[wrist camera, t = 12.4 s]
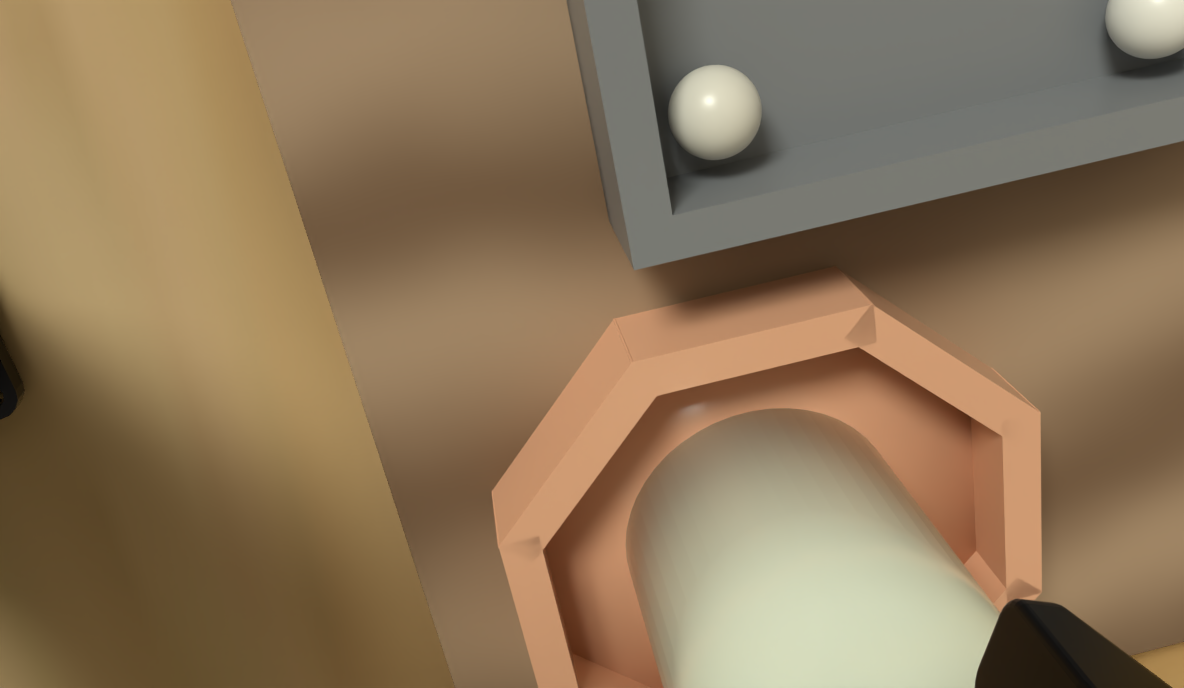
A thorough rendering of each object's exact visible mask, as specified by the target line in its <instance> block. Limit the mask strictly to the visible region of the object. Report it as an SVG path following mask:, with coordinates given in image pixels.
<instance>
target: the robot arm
mask: <svg viewBox="0 0 1184 688" xmlns="http://www.w3.org/2000/svg"><path fill="white" fill-rule="evenodd" d="M0 391H1V392H2V393H3V397H4V398H3V399H0V419H2V418H5V417H7V416H9V415H10V414H11V413H12V412H13V411H14V410H15V409H16V407H17V406H18V405H19V403H20V402H21V400H22V399H23V395H24V391H25V390H24V386H23V382H22V380H21V378H20V376H19V373H18V371H17V369H16V367H15V365H14V363H13V361H12V359H11V357H10V355H9V353H8V351H7V349H6V346H5V344H4V342H3V340H2V338H1V336H0ZM975 688H1172V687H1171V686H1170V685H1168V684H1167V683H1165V682H1164V681H1163V680H1161V679H1160V678H1159V677H1157V676H1156V675H1155V674H1153V673H1152V672H1151V671H1149V670H1148V669H1147V668H1145V667H1144V666H1143V665H1141V664H1140V663H1139V662H1137V661H1136V660H1135V659H1133V658H1132V657H1131V656H1129V655H1128V654H1127V653H1125V652H1124V651H1123V650H1121V649H1120V648H1119V647H1117V646H1116V645H1115V644H1113V643H1112V642H1111V641H1109V640H1108V639H1107V638H1105V637H1104V636H1103V635H1101V634H1100V633H1099V632H1097V631H1096V630H1095V629H1093V628H1092V627H1091V626H1089V625H1088V624H1087V623H1085V622H1084V621H1083V620H1081V619H1080V618H1079V617H1077V616H1076V615H1075V614H1073V613H1072V612H1071V611H1069V610H1068V609H1067V608H1065V607H1064V606H1062V605H1060V604H1057V603H1052V602H1044V601H1036V600H1027V599H1014V600H1011V601H1009V602H1008V603H1007V604H1006V605H1005V606H1004V607H1003V609H1002V611H1001V613H1000V615H999V617H998V620H997V622H996V625H995V627H994V630H993V632H992V635H991V637H990V640H989V642H988V645H987V647H986V650H985V652H984V655H983V657H982V659H981V662H980V664H979V667H978V670H977V673H976V679H975Z"/></svg>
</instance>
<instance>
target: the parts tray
mask: <svg viewBox="0 0 1184 688" xmlns="http://www.w3.org/2000/svg"><path fill="white" fill-rule="evenodd" d="M566 1H567V6H568V11H569V17H570V22H571V27H572V32H573V37H574V42H575V48H576V53H577V58H578V63H579V68H580V73H581V78H582V84H583V89H584V94H585V99H586V104H587V109H588V115H589V120H590V125H591V130H592V135H593V140H594V145H595V151H596V156H597V161H598V166H599V171H600V176H601V182H602V187H603V192H604V197H605V202H606V207H607V213H608V218H609V222H610V224H611V226H612V228H613V230H614V232H615V234H616V236H617V238H618V240H619V242H620V244H621V246H622V248H623V250H624V252H625V254H626V256H627V258H628V260H629V261H630V263H631V265H632V267H633V269H634V270H638V269H642V268H646V267H650V266H655V265H659V264H663V263H667V262H672V261H676V260H680V259H684V258H689V257H693V256H697V255H701V254H706V253H710V252H714V251H718V250H723V249H727V248H731V247H735V246H740V245H744V244H748V243H752V242H757V241H761V240H765V239H769V238H774V237H778V236H782V235H786V234H791V233H795V232H799V231H803V230H808V229H812V228H816V227H820V226H824V225H829V224H833V223H837V222H841V221H846V220H850V219H854V218H858V217H863V216H867V215H871V214H875V213H880V212H884V211H888V210H892V209H897V208H901V207H905V206H909V205H914V204H918V203H922V202H926V201H931V200H935V199H939V198H943V197H948V196H952V195H956V194H960V193H965V192H969V191H973V190H977V189H982V188H986V187H990V186H994V185H998V184H1003V183H1007V182H1011V181H1015V180H1020V179H1024V178H1028V177H1032V176H1037V175H1041V174H1045V173H1049V172H1054V171H1058V170H1062V169H1066V168H1071V167H1075V166H1079V165H1083V164H1088V163H1092V162H1096V161H1100V160H1105V159H1109V158H1113V157H1117V156H1122V155H1126V154H1130V153H1134V152H1139V151H1143V150H1147V149H1151V148H1155V147H1160V146H1164V145H1168V144H1172V143H1177V142H1181V141H1184V0H566Z"/></svg>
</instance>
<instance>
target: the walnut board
mask: <svg viewBox="0 0 1184 688" xmlns="http://www.w3.org/2000/svg"><path fill="white" fill-rule="evenodd" d="M231 3H232V6H233V9H234V12H235V15H236V18H237V21H238V24H239V28H240V31H241V34H242V37H243V40H244V43H245V46H246V49H247V52H248V55H249V58H250V61H251V64H252V67H253V70H254V73H255V77H256V80H257V83H258V86H259V89H260V92H261V95H262V98H263V101H264V104H265V107H266V110H267V113H268V116H269V119H270V122H271V126H272V129H273V132H274V135H275V138H276V141H277V144H278V147H279V150H280V153H281V156H282V159H283V162H284V165H285V168H286V171H287V175H288V178H289V181H290V184H291V187H292V190H293V193H294V196H295V199H296V202H297V205H298V208H299V211H300V214H301V217H302V220H303V224H304V227H305V230H306V233H307V236H308V239H309V242H310V245H311V248H312V251H313V254H314V257H315V260H316V263H317V266H318V269H319V273H320V276H321V279H322V282H323V285H324V288H325V291H326V294H327V297H328V300H329V303H330V306H331V309H332V312H333V315H334V318H335V322H336V325H337V328H338V331H339V334H340V337H341V340H342V343H343V346H344V349H345V352H346V355H347V358H348V361H349V364H350V367H351V371H352V374H353V377H354V380H355V383H356V386H357V389H358V392H359V395H360V398H361V401H362V404H363V407H364V410H365V413H366V416H367V420H368V423H369V426H370V429H371V432H372V435H373V438H374V441H375V444H376V447H377V450H378V453H379V456H380V459H381V462H382V465H383V469H384V472H385V475H386V478H387V481H388V484H389V487H390V490H391V493H392V496H393V499H394V502H395V505H396V508H397V511H398V514H399V518H400V521H401V524H402V527H403V530H404V533H405V536H406V539H407V542H408V545H409V548H410V551H411V554H412V557H413V560H414V563H415V567H416V570H417V573H418V576H419V579H420V582H421V585H422V588H423V591H424V594H425V597H426V600H427V603H428V606H429V609H430V612H431V616H432V619H433V622H434V625H435V628H436V631H437V634H438V637H439V640H440V643H441V646H442V649H443V652H444V655H445V658H446V661H447V665H448V668H449V671H450V674H451V677H452V680H453V683H454V686H455V688H538V685H537V681H536V678H535V674H534V671H533V667H532V664H531V660H530V657H529V653H528V649H527V646H526V642H525V639H524V635H523V632H522V628H521V625H520V621H519V617H518V614H517V610H516V607H515V603H514V600H513V596H512V593H511V589H510V586H509V582H508V578H507V575H506V571H505V568H504V564H503V561H502V557H501V554H500V550H499V548H498V543H497V535H496V526H495V518H494V509H493V501H492V490H493V489H494V488H495V486H496V485H497V483H498V482H499V481H500V479H501V478H502V476H503V475H504V473H505V472H506V471H507V469H508V468H509V466H510V465H511V464H512V462H513V461H514V459H515V458H516V456H517V455H518V454H519V452H520V451H521V449H522V448H523V447H524V445H525V444H526V442H527V441H528V440H529V438H530V437H531V435H532V434H533V432H534V431H535V430H536V428H537V427H538V425H539V424H540V423H541V421H542V420H543V418H544V417H545V415H546V414H547V413H548V411H549V410H550V408H551V407H552V406H553V404H554V403H555V401H556V400H557V398H558V397H559V396H560V394H561V393H562V391H563V390H564V389H565V387H566V386H567V384H568V383H569V382H570V380H571V379H572V377H573V376H574V374H575V373H576V372H577V370H578V369H579V367H580V366H581V365H582V363H583V362H584V360H585V359H586V357H587V356H588V355H589V353H590V352H591V350H592V349H593V348H594V346H595V345H596V343H597V342H598V341H599V339H600V338H601V336H602V335H603V333H604V332H605V331H606V329H607V328H608V326H609V325H610V324H611V322H612V321H613V319H614V318H619V317H623V316H628V315H632V314H636V313H640V312H644V311H649V310H653V309H657V308H661V307H666V306H670V305H674V304H678V303H682V302H687V301H691V300H695V299H699V298H703V297H708V296H712V295H716V294H720V293H724V292H729V291H733V290H737V289H741V288H745V287H750V286H754V285H758V284H762V283H766V282H771V281H775V280H779V279H783V278H787V277H792V276H796V275H800V274H804V273H809V272H813V271H817V270H821V269H825V268H830V267H833V266H836V267H837V268H838V269H840V270H841V271H843V272H844V273H846V274H847V275H849V276H851V277H852V278H854V279H855V280H857V281H858V282H860V283H861V284H863V285H864V286H866V287H867V288H869V289H871V290H872V291H874V292H875V293H877V294H878V295H880V296H881V297H883V298H884V299H886V300H887V301H889V302H891V303H892V304H894V305H895V306H897V307H898V308H900V309H901V310H903V311H904V312H906V313H907V314H909V315H911V316H912V317H914V318H915V319H917V320H918V321H920V322H921V323H923V324H924V325H926V326H927V327H929V328H931V329H932V330H934V331H935V332H937V333H938V334H940V335H941V336H943V337H944V338H946V339H947V340H949V341H951V342H952V343H954V344H955V345H957V346H958V347H960V348H961V349H963V350H964V351H966V352H967V353H969V354H971V355H972V356H974V357H975V358H977V359H978V360H980V361H981V362H983V363H984V364H986V365H987V366H989V367H991V368H993V369H994V370H995V371H996V372H997V373H999V374H1000V375H1001V376H1002V377H1003V378H1004V379H1005V380H1006V381H1007V382H1008V383H1010V384H1011V385H1012V386H1013V387H1014V388H1015V389H1016V390H1017V391H1018V392H1019V393H1020V394H1022V395H1023V396H1024V397H1025V398H1026V399H1027V400H1028V401H1029V402H1030V403H1031V404H1032V405H1034V406H1035V407H1036V408H1037V409H1038V410H1039V411H1040V413H1041V540H1042V593H1041V594H1040V595H1039V596H1038V597H1037V598H1036V599H1035V600H1036V601H1044V602H1052V603H1057V604H1060V605H1062V606H1064V607H1065V608H1067V609H1068V610H1069V611H1071V612H1072V613H1073V614H1075V615H1076V616H1077V617H1079V618H1080V619H1081V620H1083V621H1084V622H1085V623H1087V624H1088V625H1089V626H1091V627H1092V628H1093V629H1095V630H1096V631H1097V632H1099V633H1100V634H1101V635H1103V636H1104V637H1105V638H1107V639H1108V640H1109V641H1111V642H1112V643H1113V644H1115V645H1116V646H1117V647H1119V648H1120V649H1121V650H1123V651H1124V652H1125V653H1127V654H1128V655H1129V656H1131V655H1135V654H1138V653H1142V652H1146V651H1150V650H1154V649H1158V648H1162V647H1165V646H1169V645H1173V644H1177V643H1181V642H1184V141H1181V142H1177V143H1172V144H1168V145H1164V146H1160V147H1155V148H1151V149H1147V150H1143V151H1139V152H1134V153H1130V154H1126V155H1122V156H1117V157H1113V158H1109V159H1105V160H1100V161H1096V162H1092V163H1088V164H1083V165H1079V166H1075V167H1071V168H1066V169H1062V170H1058V171H1054V172H1049V173H1045V174H1041V175H1037V176H1032V177H1028V178H1024V179H1020V180H1015V181H1011V182H1007V183H1003V184H998V185H994V186H990V187H986V188H982V189H977V190H973V191H969V192H965V193H960V194H956V195H952V196H948V197H943V198H939V199H935V200H931V201H926V202H922V203H918V204H914V205H909V206H905V207H901V208H897V209H892V210H888V211H884V212H880V213H875V214H871V215H867V216H863V217H858V218H854V219H850V220H846V221H841V222H837V223H833V224H829V225H824V226H820V227H816V228H812V229H808V230H803V231H799V232H795V233H791V234H786V235H782V236H778V237H774V238H769V239H765V240H761V241H757V242H752V243H748V244H744V245H740V246H735V247H731V248H727V249H723V250H718V251H714V252H710V253H706V254H701V255H697V256H693V257H689V258H684V259H680V260H676V261H672V262H667V263H663V264H659V265H655V266H650V267H646V268H642V269H638V270H634V269H633V267H632V265H631V263H630V261H629V260H628V258H627V256H626V254H625V252H624V250H623V248H622V246H621V244H620V242H619V240H618V238H617V236H616V234H615V232H614V230H613V228H612V226H611V224H610V222H609V218H608V213H607V207H606V202H605V197H604V192H603V187H602V182H601V176H600V171H599V166H598V161H597V156H596V151H595V145H594V140H593V135H592V130H591V125H590V120H589V115H588V109H587V104H586V99H585V94H584V89H583V84H582V78H581V73H580V68H579V63H578V58H577V53H576V48H575V42H574V37H573V32H572V27H571V22H570V17H569V11H568V6H567V1H566V0H231Z"/></svg>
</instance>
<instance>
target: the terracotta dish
mask: <svg viewBox="0 0 1184 688" xmlns="http://www.w3.org/2000/svg"><path fill="white" fill-rule="evenodd" d="M771 408H793V409H803V410H809V411H813V412H818V413H822V414H825V415H828V416H830V417H833V418H836V419H838V420H840V421H842V422H844V423H846V424H847V425H849V426H851V427H853V428H854V429H856V430H857V431H858V432H859V433H861V434H862V435H863V436H865V437H866V438H867V439H868V440H869V441H870V443H871V444H872V445H873V446H874V447H875V448H876V449H877V450H878V452H879V453H880V454H881V456H882V457H883V458H884V460H885V461H886V462H887V464H888V465H889V466H890V468H891V469H892V470H893V472H894V473H895V474H896V476H897V477H898V478H899V480H900V481H901V482H902V483H903V485H904V486H905V487H906V489H907V490H908V491H909V493H910V494H911V495H912V497H913V498H914V499H915V501H916V502H917V503H918V505H919V506H920V507H921V509H922V510H923V511H924V513H925V514H926V515H927V517H928V518H929V519H930V521H931V522H932V523H933V525H934V526H935V527H936V528H937V530H938V531H939V532H940V534H941V535H942V536H943V538H944V539H945V540H946V542H947V543H948V544H949V546H950V547H951V548H952V550H953V551H954V552H955V554H956V555H957V556H958V558H959V559H960V560H961V562H962V563H963V564H964V566H965V567H966V568H967V570H968V571H969V572H970V574H971V575H972V576H973V577H974V579H975V580H976V581H977V583H978V584H979V585H980V587H981V588H982V589H983V591H984V592H985V593H986V595H987V596H988V597H989V599H990V600H991V601H992V603H993V604H994V605H995V607H996V608H997V609H998V611H999V612H1000V613H1001V611H1002V609H1003V607H1004V606H1005V605H1006V604H1007V603H1008V602H1009V601H1011V600H1014V599H1027V600H1035V599H1036V598H1037V597H1038V596H1039V595H1040V594H1041V593H1042V540H1041V413H1040V411H1039V410H1038V409H1037V408H1036V407H1035V406H1034V405H1032V404H1031V403H1030V402H1029V401H1028V400H1027V399H1026V398H1025V397H1024V396H1023V395H1022V394H1020V393H1019V392H1018V391H1017V390H1016V389H1015V388H1014V387H1013V386H1012V385H1011V384H1010V383H1008V382H1007V381H1006V380H1005V379H1004V378H1003V377H1002V376H1001V375H1000V374H999V373H997V372H996V371H995V370H994V369H993V368H991V367H989V366H987V365H986V364H984V363H983V362H981V361H980V360H978V359H977V358H975V357H974V356H972V355H971V354H969V353H967V352H966V351H964V350H963V349H961V348H960V347H958V346H957V345H955V344H954V343H952V342H951V341H949V340H947V339H946V338H944V337H943V336H941V335H940V334H938V333H937V332H935V331H934V330H932V329H931V328H929V327H927V326H926V325H924V324H923V323H921V322H920V321H918V320H917V319H915V318H914V317H912V316H911V315H909V314H907V313H906V312H904V311H903V310H901V309H900V308H898V307H897V306H895V305H894V304H892V303H891V302H889V301H887V300H886V299H884V298H883V297H881V296H880V295H878V294H877V293H875V292H874V291H872V290H871V289H869V288H867V287H866V286H864V285H863V284H861V283H860V282H858V281H857V280H855V279H854V278H852V277H851V276H849V275H847V274H846V273H844V272H843V271H841V270H840V269H838V268H837V267H836V266H833V267H830V268H825V269H821V270H817V271H813V272H809V273H804V274H800V275H796V276H792V277H787V278H783V279H779V280H775V281H771V282H766V283H762V284H758V285H754V286H750V287H745V288H741V289H737V290H733V291H729V292H724V293H720V294H716V295H712V296H708V297H703V298H699V299H695V300H691V301H687V302H682V303H678V304H674V305H670V306H666V307H661V308H657V309H653V310H649V311H644V312H640V313H636V314H632V315H628V316H623V317H619V318H614V319H613V321H612V322H611V324H610V325H609V326H608V328H607V329H606V331H605V332H604V333H603V335H602V336H601V338H600V339H599V341H598V342H597V343H596V345H595V346H594V348H593V349H592V350H591V352H590V353H589V355H588V356H587V357H586V359H585V360H584V362H583V363H582V365H581V366H580V367H579V369H578V370H577V372H576V373H575V374H574V376H573V377H572V379H571V380H570V382H569V383H568V384H567V386H566V387H565V389H564V390H563V391H562V393H561V394H560V396H559V397H558V398H557V400H556V401H555V403H554V404H553V406H552V407H551V408H550V410H549V411H548V413H547V414H546V415H545V417H544V418H543V420H542V421H541V423H540V424H539V425H538V427H537V428H536V430H535V431H534V432H533V434H532V435H531V437H530V438H529V440H528V441H527V442H526V444H525V445H524V447H523V448H522V449H521V451H520V452H519V454H518V455H517V456H516V458H515V459H514V461H513V462H512V464H511V465H510V466H509V468H508V469H507V471H506V472H505V473H504V475H503V476H502V478H501V479H500V481H499V482H498V483H497V485H496V486H495V488H494V489H493V490H492V501H493V509H494V518H495V526H496V535H497V543H498V548H499V550H500V554H501V557H502V561H503V564H504V568H505V571H506V575H507V578H508V582H509V586H510V589H511V593H512V596H513V600H514V603H515V607H516V610H517V614H518V617H519V621H520V625H521V628H522V632H523V635H524V639H525V642H526V646H527V649H528V653H529V657H530V660H531V664H532V667H533V671H534V674H535V678H536V681H537V685H538V688H663V685H662V682H661V678H660V675H659V671H658V668H657V664H656V661H655V658H654V654H653V651H652V647H651V644H650V640H649V637H648V633H647V630H646V627H645V623H644V620H643V616H642V613H641V609H640V606H639V602H638V599H637V596H636V592H635V589H634V585H633V582H632V578H631V575H630V571H629V567H628V563H627V557H626V545H625V544H626V531H627V525H628V521H629V517H630V513H631V510H632V507H633V505H634V502H635V500H636V497H637V495H638V494H639V492H640V490H641V488H642V486H643V484H644V483H645V481H646V480H647V479H648V477H649V476H650V474H651V473H652V472H653V470H654V469H655V468H656V467H657V465H658V464H659V463H660V462H661V461H662V460H663V459H664V458H665V457H666V456H667V455H668V454H669V453H670V452H671V451H672V450H674V449H675V448H676V447H677V446H678V445H680V444H681V443H682V442H683V441H685V440H686V439H688V438H689V437H691V436H692V435H694V434H695V433H697V432H698V431H700V430H702V429H704V428H706V427H708V426H710V425H712V424H714V423H716V422H719V421H721V420H724V419H726V418H729V417H732V416H735V415H739V414H742V413H746V412H750V411H756V410H763V409H771Z"/></svg>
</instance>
